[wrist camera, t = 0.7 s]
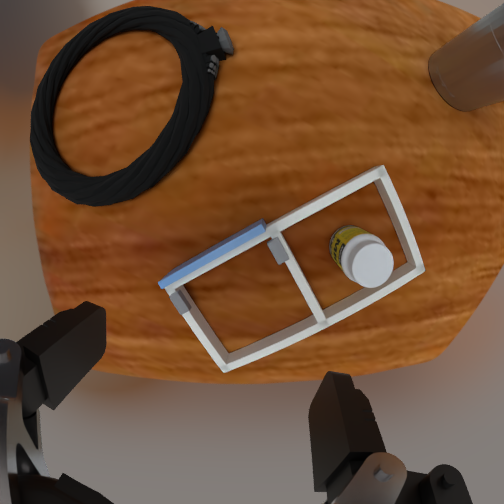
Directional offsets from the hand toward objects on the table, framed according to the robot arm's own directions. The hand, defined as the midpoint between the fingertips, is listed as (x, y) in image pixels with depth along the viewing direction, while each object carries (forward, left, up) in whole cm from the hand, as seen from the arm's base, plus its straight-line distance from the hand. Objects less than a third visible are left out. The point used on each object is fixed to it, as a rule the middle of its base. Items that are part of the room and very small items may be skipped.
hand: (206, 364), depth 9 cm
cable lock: (+5, -24, -24) cm, 34 cm away
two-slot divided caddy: (-3, +6, -23) cm, 24 cm away
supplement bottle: (-9, +6, -23) cm, 26 cm away
